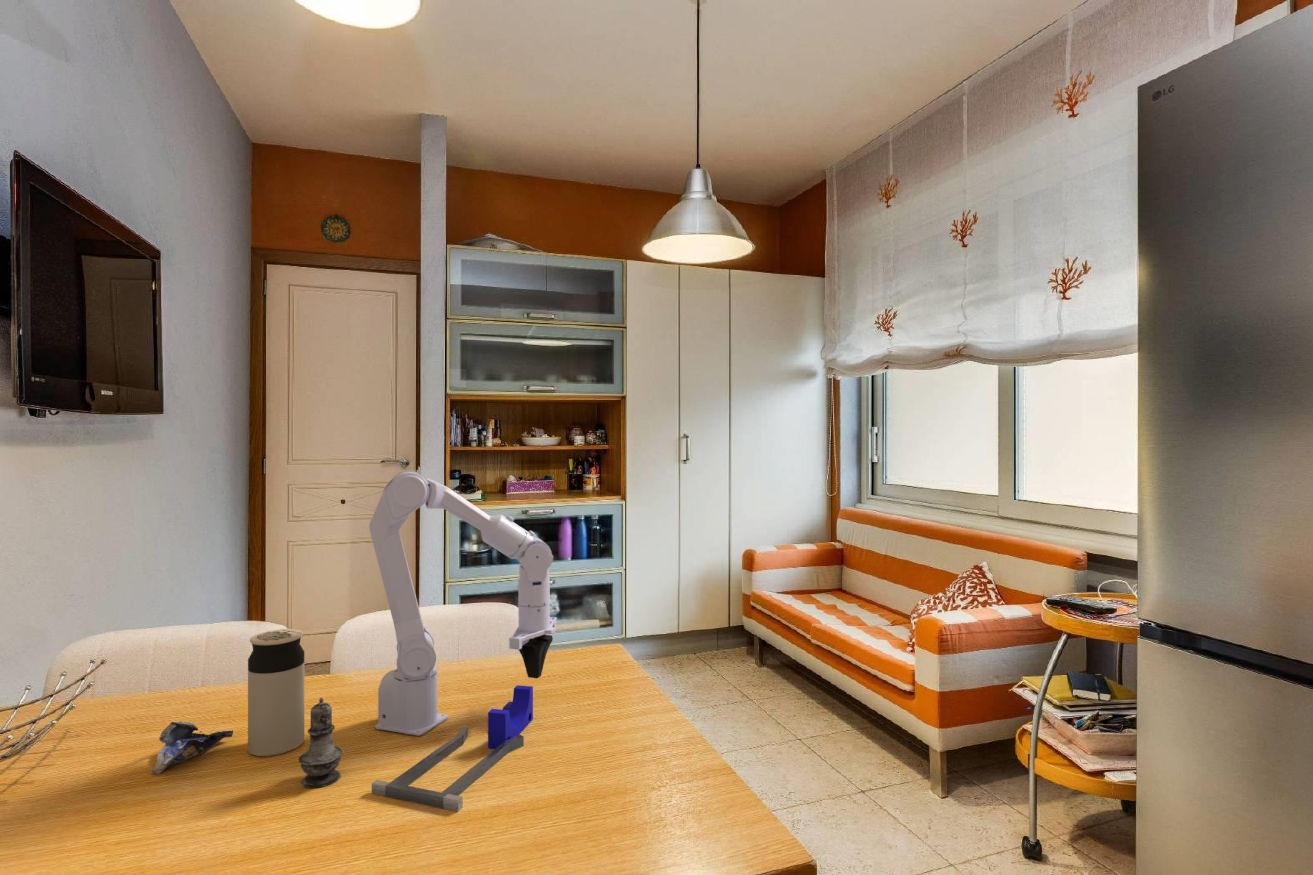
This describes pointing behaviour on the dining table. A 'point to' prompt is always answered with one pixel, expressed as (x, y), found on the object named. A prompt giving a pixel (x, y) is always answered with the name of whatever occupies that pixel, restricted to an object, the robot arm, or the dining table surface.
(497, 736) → the blue cradle block
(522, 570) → the robot arm
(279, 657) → the travel mug
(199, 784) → the dining table surface
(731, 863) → the dining table surface
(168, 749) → the snack package
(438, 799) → the rail
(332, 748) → the salt shaker
